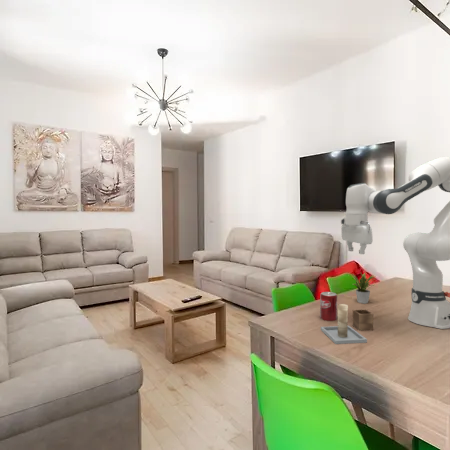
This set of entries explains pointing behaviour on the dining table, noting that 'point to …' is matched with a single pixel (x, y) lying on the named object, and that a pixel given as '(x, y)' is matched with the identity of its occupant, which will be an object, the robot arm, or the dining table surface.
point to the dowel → (342, 320)
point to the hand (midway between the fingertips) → (356, 252)
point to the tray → (351, 338)
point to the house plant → (362, 289)
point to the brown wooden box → (362, 320)
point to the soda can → (328, 306)
